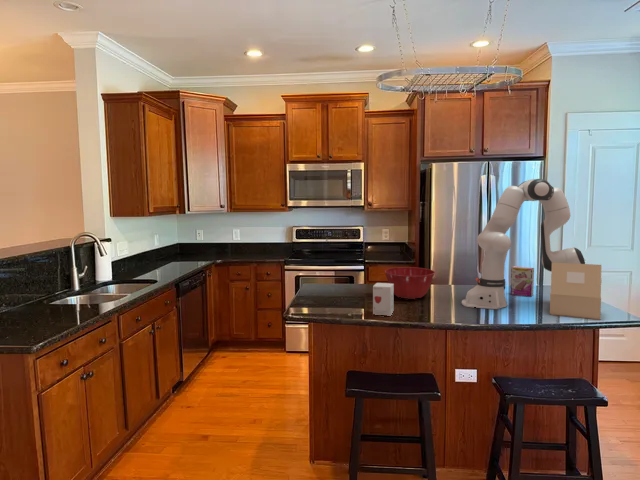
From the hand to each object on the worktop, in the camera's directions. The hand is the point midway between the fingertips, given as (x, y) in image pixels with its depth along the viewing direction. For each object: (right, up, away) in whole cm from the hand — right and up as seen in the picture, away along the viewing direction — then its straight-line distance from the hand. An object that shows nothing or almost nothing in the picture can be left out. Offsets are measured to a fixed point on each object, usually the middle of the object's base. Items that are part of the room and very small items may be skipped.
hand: (576, 282), depth 190 cm
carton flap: (0, +1, 0) cm, 1 cm away
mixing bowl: (-67, -14, +49) cm, 84 cm away
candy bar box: (-3, -13, +46) cm, 47 cm away
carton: (+4, -16, +7) cm, 18 cm away
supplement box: (-87, -18, +14) cm, 90 cm away
